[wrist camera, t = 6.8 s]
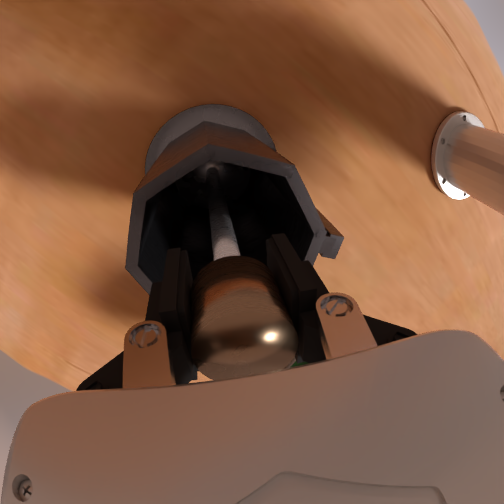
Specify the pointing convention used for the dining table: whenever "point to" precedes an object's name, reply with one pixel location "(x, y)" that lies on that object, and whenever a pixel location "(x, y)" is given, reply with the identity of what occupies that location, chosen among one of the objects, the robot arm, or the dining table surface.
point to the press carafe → (241, 211)
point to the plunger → (233, 288)
